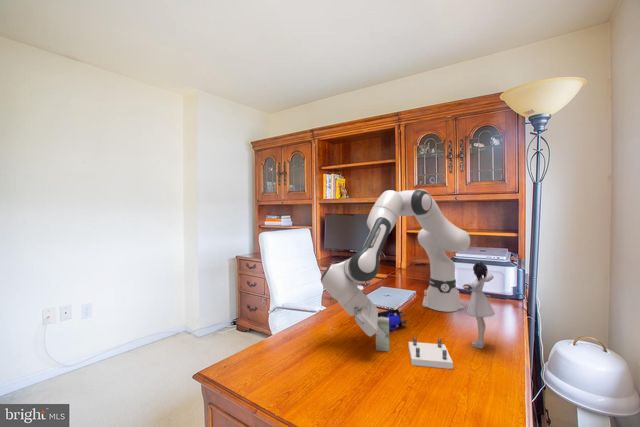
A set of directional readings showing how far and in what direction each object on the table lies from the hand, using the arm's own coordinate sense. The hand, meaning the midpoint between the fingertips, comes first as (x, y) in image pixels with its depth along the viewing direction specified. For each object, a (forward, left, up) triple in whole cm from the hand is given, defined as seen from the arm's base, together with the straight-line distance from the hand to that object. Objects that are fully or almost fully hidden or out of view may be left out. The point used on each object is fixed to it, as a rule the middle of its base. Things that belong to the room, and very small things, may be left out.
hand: (384, 332), depth 105 cm
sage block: (0, -1, -5) cm, 5 cm away
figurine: (-7, +33, -6) cm, 34 cm away
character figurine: (-17, +3, -6) cm, 18 cm away
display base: (+4, +14, -5) cm, 16 cm away
